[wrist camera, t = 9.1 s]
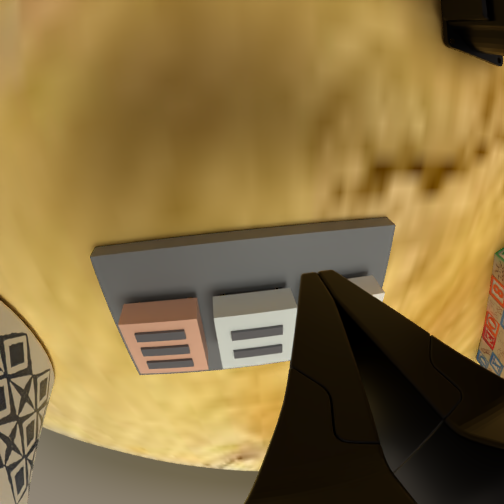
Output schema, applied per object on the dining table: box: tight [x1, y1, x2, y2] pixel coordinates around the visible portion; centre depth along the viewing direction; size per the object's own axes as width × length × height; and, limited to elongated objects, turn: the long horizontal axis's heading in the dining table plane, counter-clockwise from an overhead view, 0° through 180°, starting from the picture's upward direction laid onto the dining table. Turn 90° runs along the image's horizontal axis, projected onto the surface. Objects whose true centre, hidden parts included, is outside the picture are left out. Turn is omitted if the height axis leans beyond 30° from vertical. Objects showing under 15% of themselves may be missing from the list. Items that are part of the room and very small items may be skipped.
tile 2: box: [213, 288, 297, 369], centre depth 21 cm, size 5×5×4 cm
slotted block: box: [118, 298, 209, 374], centre depth 20 cm, size 5×5×4 cm
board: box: [90, 217, 395, 375], centre depth 22 cm, size 20×12×1 cm, turn 93°
